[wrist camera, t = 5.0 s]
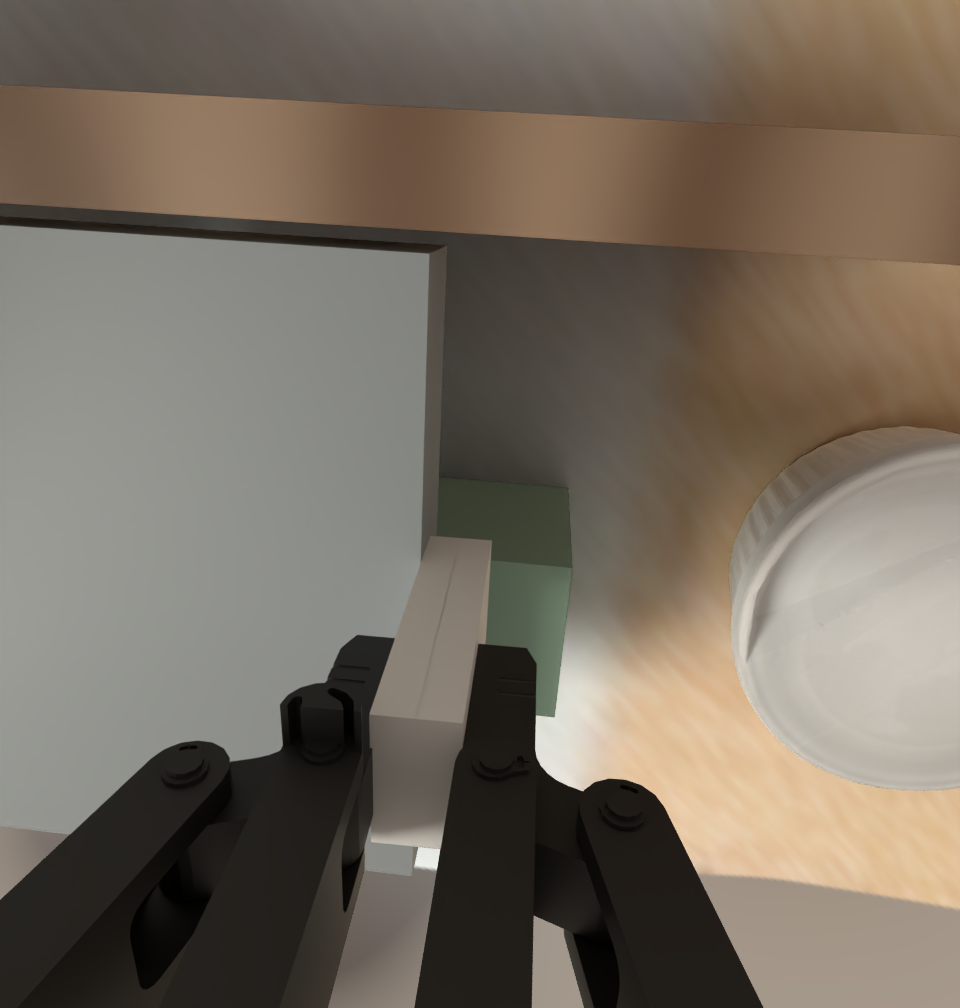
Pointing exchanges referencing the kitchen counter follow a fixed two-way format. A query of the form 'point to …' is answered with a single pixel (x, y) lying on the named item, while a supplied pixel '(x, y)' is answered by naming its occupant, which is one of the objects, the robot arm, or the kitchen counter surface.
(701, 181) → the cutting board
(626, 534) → the kitchen counter surface
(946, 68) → the kitchen counter surface
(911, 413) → the kitchen counter surface
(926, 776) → the ramekin
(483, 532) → the block
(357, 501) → the lid
